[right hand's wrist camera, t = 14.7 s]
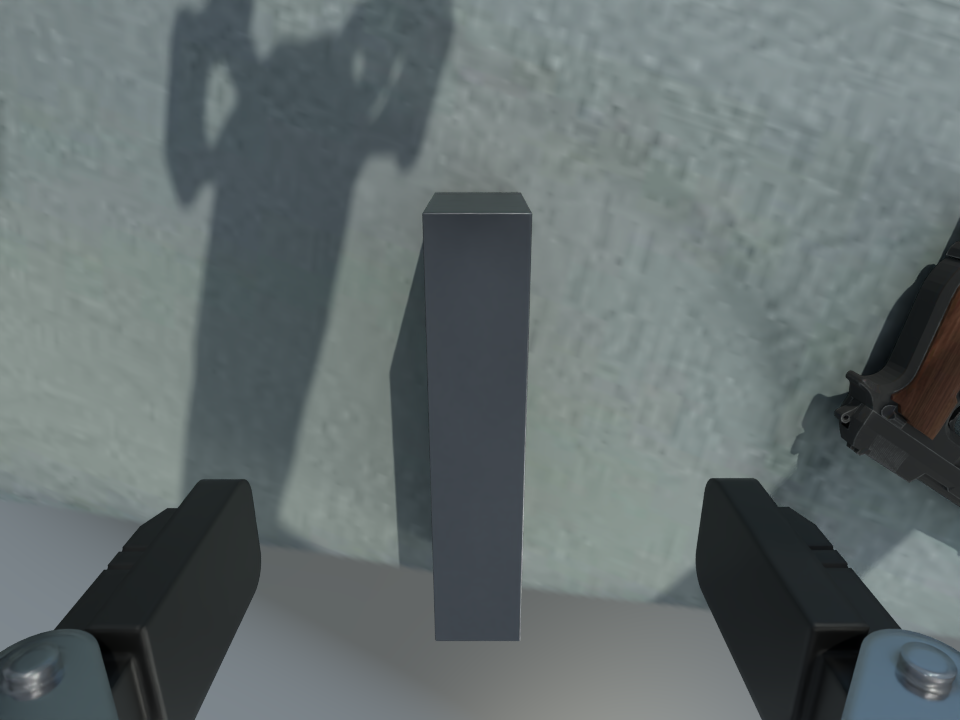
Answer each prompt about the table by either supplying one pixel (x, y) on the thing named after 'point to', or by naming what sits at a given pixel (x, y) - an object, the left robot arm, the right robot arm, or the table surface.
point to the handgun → (915, 391)
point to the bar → (477, 408)
